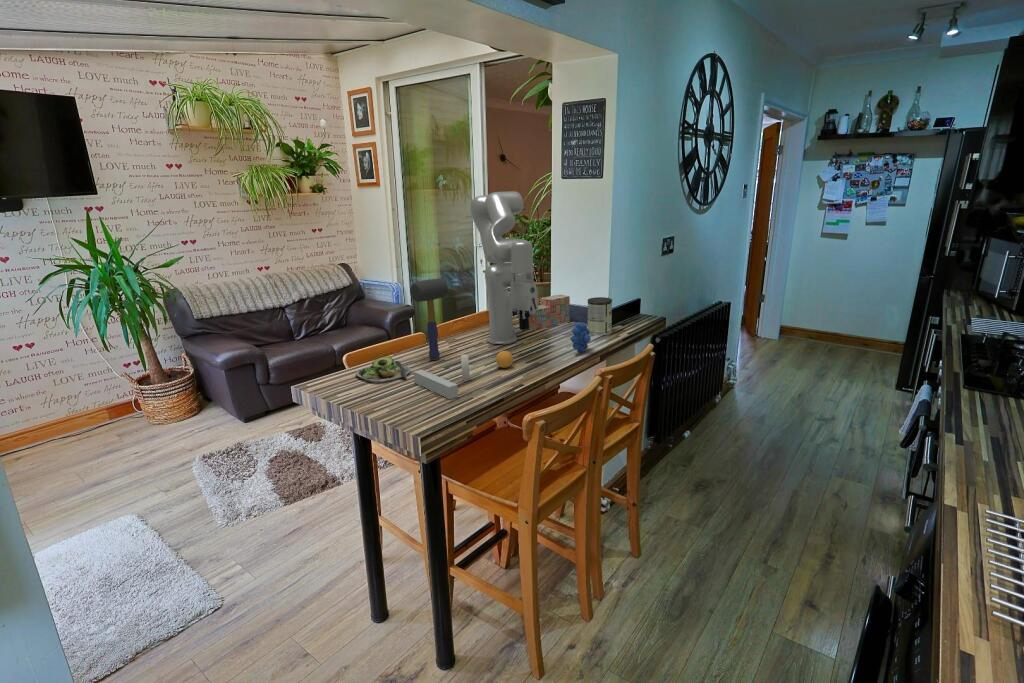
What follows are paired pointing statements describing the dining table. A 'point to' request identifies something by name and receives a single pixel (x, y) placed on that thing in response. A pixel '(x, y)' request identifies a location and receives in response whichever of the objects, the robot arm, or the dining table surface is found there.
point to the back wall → (436, 384)
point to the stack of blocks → (551, 312)
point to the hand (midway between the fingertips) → (524, 329)
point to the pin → (465, 367)
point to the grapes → (580, 337)
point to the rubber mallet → (430, 308)
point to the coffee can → (599, 315)
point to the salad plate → (383, 370)
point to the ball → (504, 359)
